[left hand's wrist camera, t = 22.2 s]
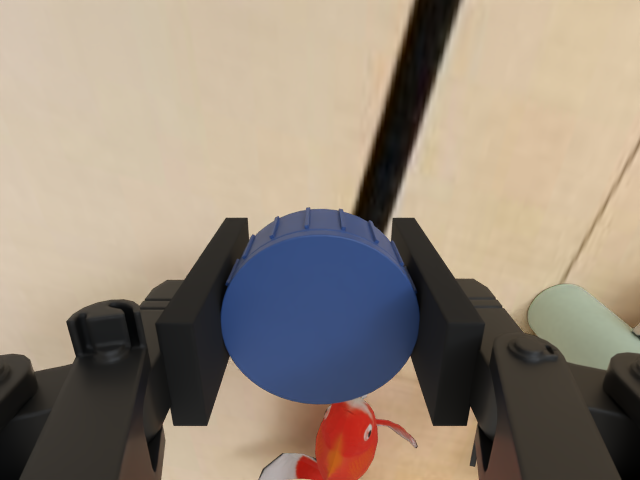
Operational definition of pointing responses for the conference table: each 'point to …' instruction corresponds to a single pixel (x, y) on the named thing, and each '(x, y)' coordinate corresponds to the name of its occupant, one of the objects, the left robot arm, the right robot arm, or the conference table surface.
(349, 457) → the fish
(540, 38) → the conference table surface
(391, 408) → the conference table surface
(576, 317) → the green bottle
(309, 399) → the lid
